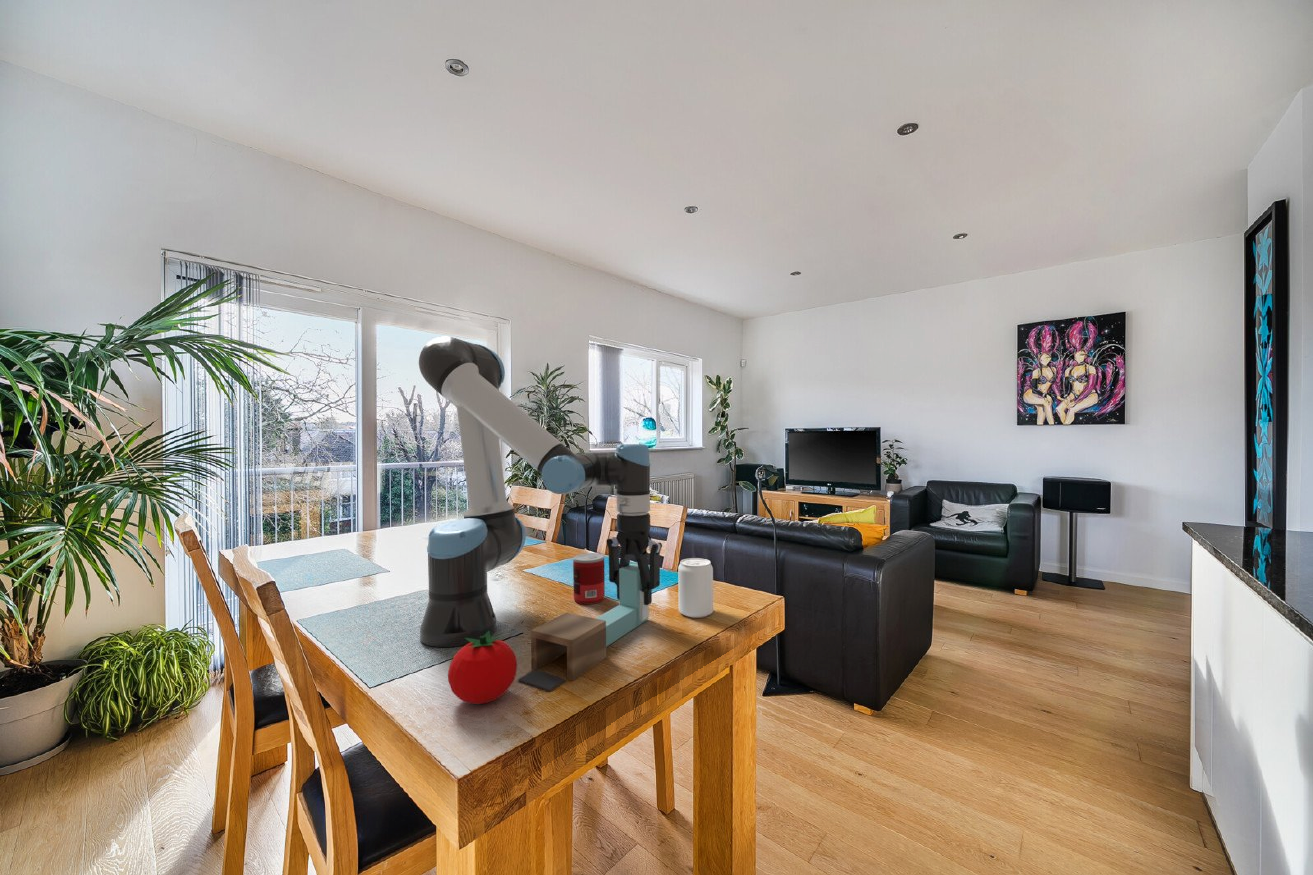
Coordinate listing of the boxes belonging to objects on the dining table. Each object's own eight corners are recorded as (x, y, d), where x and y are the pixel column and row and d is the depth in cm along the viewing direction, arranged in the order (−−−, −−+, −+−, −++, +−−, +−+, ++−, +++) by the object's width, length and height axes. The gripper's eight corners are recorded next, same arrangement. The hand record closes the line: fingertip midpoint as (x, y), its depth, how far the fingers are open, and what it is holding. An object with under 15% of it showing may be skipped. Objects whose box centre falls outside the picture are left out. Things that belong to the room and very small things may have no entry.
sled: (575, 649, 96) (575, 588, 96) (631, 615, 114) (631, 563, 114) (594, 654, 94) (594, 591, 94) (648, 618, 112) (647, 565, 112)
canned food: (610, 597, 127) (610, 555, 127) (590, 606, 121) (590, 562, 120) (587, 592, 131) (587, 551, 131) (567, 601, 125) (566, 558, 125)
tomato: (437, 718, 74) (436, 652, 74) (461, 683, 84) (460, 624, 84) (508, 716, 74) (507, 649, 74) (523, 681, 85) (523, 623, 84)
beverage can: (711, 620, 111) (711, 567, 111) (676, 617, 113) (675, 565, 113) (714, 607, 119) (714, 558, 119) (681, 605, 121) (680, 556, 121)
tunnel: (531, 668, 89) (531, 630, 89) (567, 647, 98) (566, 612, 98) (572, 681, 84) (572, 640, 84) (606, 657, 93) (605, 620, 93)
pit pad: (518, 681, 84) (518, 679, 84) (534, 671, 88) (534, 669, 88) (549, 691, 81) (549, 689, 81) (565, 680, 85) (565, 678, 85)
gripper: (591, 512, 112) (592, 614, 112) (659, 518, 103) (660, 629, 103) (610, 507, 118) (611, 604, 119) (676, 513, 110) (676, 617, 110)
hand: (634, 616), depth 111 cm, fingers closed on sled, 5 cm apart
